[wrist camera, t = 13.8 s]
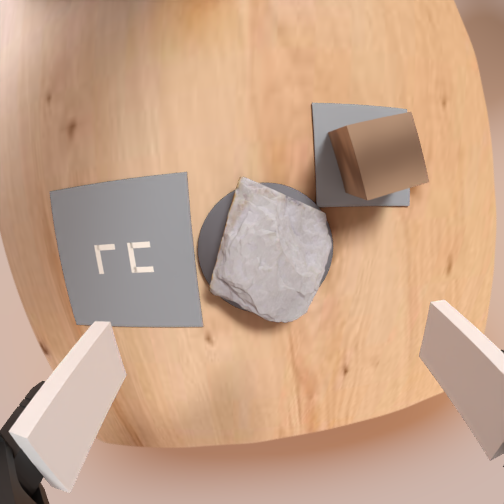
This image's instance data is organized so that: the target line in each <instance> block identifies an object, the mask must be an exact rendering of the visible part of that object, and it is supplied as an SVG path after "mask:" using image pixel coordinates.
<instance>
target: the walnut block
mask: <svg viewBox="0 0 504 504" xmlns="http://www.w3.org/2000/svg"><path fill="white" fill-rule="evenodd" d="M328 134H329V137H330V141H331V144H332V147H333V150H334V154H335V157H336V160H337V164H338V167H339V171H340V174H341V178H342V181H343V185H344V189H345V192H346V193H348V194H350V195H353V196H356V197H359V198H362V199H365V200H367V201H368V200H371V199H374V198H378V197H381V196H384V195H388V194H391V193H394V192H398V191H401V190H404V189H408V188H411V187H414V186H418V185H421V184H425V183H428V182H429V179H428V175H427V170H426V165H425V161H424V157H423V153H422V149H421V145H420V141H419V137H418V133H417V130H416V126H415V123H414V119H413V116H412V113H411V112H407V113H402V114H397V115H392V116H387V117H382V118H377V119H373V120H368V121H364V122H359V123H355V124H351V125H346V126H344V127H341V128H338V129H336V130H333V131H330V132H328Z"/></svg>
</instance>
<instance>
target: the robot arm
mask: <svg viewBox="0 0 504 504" xmlns="http://www.w3.org/2000/svg"><path fill="white" fill-rule="evenodd" d="M419 357H420V358H421V360H422V361H423V362H424V364H425V365H426V366H427V368H428V369H429V371H430V372H431V373H432V375H433V376H434V377H435V379H436V380H437V382H438V383H439V384H440V386H441V387H442V389H443V390H444V392H445V393H446V394H447V396H448V397H449V399H450V400H451V402H452V403H453V404H454V406H455V407H456V409H457V410H458V412H459V413H460V415H461V416H462V418H463V419H464V421H465V422H466V424H467V425H468V427H469V428H470V430H471V431H472V433H473V434H474V436H475V437H476V439H477V441H478V442H479V444H480V445H481V447H482V449H483V450H484V452H485V453H486V455H487V457H488V458H489V460H492V459H494V458H496V457H498V456H500V455H502V454H504V351H503V350H500V349H499V348H498V347H497V346H495V345H494V344H493V343H492V342H491V341H490V340H489V339H488V338H487V337H486V336H485V335H484V334H483V333H481V332H480V331H479V330H478V329H477V328H476V327H475V326H474V325H473V324H472V323H470V322H469V321H468V320H467V319H466V318H465V317H464V316H463V315H461V314H460V313H459V312H458V311H457V310H456V309H455V308H453V307H452V306H451V305H450V304H449V303H448V302H446V301H445V300H440V301H434V302H430V307H429V312H428V317H427V322H426V327H425V332H424V336H423V341H422V345H421V349H420V353H419ZM126 375H127V374H126V371H125V368H124V365H123V362H122V359H121V356H120V353H119V350H118V346H117V343H116V340H115V336H114V333H113V329H112V326H111V322H105V321H95V322H94V323H93V324H92V325H91V326H90V327H89V329H88V330H87V331H86V332H85V333H84V335H83V336H82V337H81V338H80V339H79V341H78V342H77V343H76V344H75V345H74V347H73V348H72V349H71V350H70V351H69V353H68V354H67V355H66V356H65V358H64V359H63V360H62V361H61V362H60V364H59V365H58V366H57V367H56V369H55V370H54V371H53V373H52V374H51V375H50V376H49V378H48V379H47V380H46V381H42V382H40V383H39V384H37V385H36V386H35V387H33V388H32V389H31V390H30V392H29V393H28V394H27V395H26V397H25V399H23V401H22V402H21V403H20V406H19V407H17V409H16V410H15V411H14V412H13V414H12V415H11V416H10V418H9V419H8V420H7V422H6V423H5V425H4V426H3V427H2V429H1V430H0V504H49V502H48V499H47V496H46V492H45V489H44V488H43V486H42V484H41V483H40V482H41V481H42V478H43V477H44V478H45V479H46V480H47V482H48V483H49V484H50V485H51V486H52V487H54V488H57V489H60V490H63V491H66V492H69V493H71V491H72V488H73V486H74V483H75V481H76V479H77V476H78V475H79V472H80V470H81V468H82V465H83V463H84V461H85V459H86V457H87V455H88V452H89V450H90V448H91V446H92V444H93V442H94V440H95V438H96V436H97V433H98V431H99V429H100V427H101V425H102V423H103V421H104V419H105V417H106V415H107V413H108V411H109V409H110V407H111V405H112V403H113V401H114V399H115V397H116V395H117V393H118V391H119V389H120V387H121V385H122V383H123V381H124V379H125V377H126ZM503 467H504V466H503Z"/></svg>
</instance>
